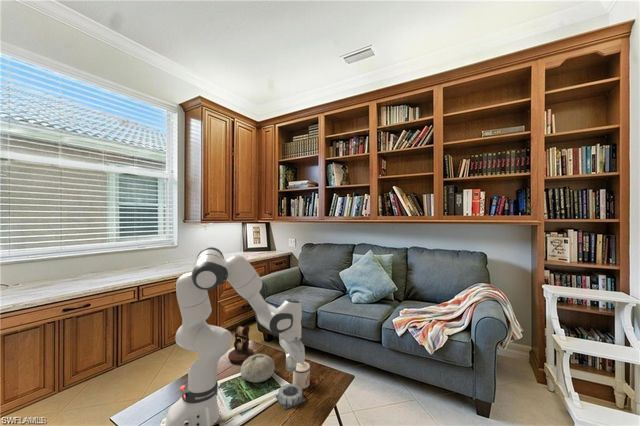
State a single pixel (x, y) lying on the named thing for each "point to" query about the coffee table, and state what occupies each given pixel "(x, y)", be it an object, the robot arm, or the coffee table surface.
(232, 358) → the carved wooden figurine
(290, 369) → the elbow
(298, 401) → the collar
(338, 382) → the coffee table surface
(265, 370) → the decorative shell
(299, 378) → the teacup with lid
